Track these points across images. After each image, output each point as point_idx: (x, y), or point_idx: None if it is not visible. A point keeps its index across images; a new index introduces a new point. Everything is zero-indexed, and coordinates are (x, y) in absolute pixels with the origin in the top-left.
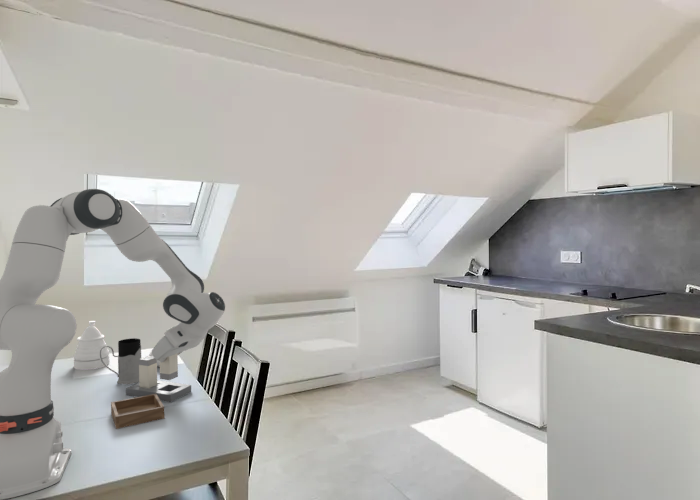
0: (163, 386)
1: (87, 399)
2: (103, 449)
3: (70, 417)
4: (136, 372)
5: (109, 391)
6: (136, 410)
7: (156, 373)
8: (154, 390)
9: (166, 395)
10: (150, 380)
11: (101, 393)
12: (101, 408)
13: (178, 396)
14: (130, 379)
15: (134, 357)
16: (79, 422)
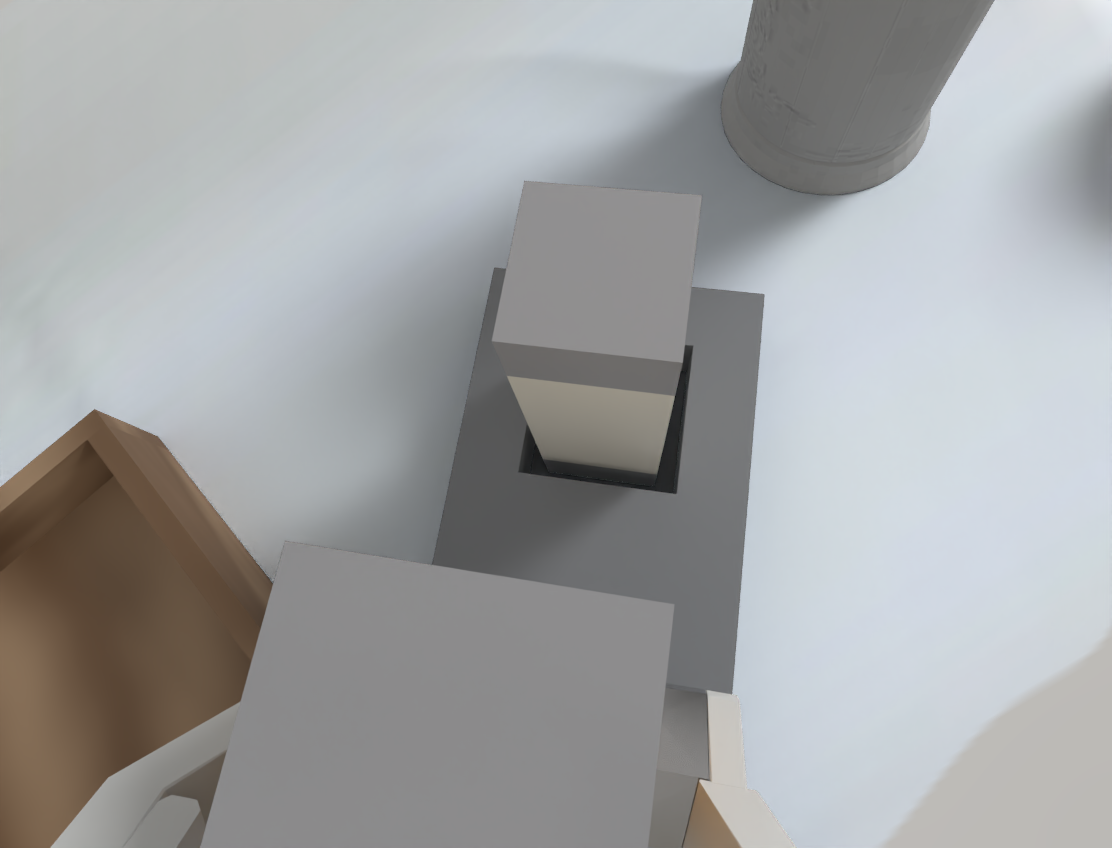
0: (599, 584)
1: (390, 109)
2: None
3: (95, 230)
4: (825, 118)
5: (558, 134)
6: (131, 639)
7: (654, 439)
8: (478, 562)
9: None
10: (560, 441)
11: (510, 112)
12: (243, 308)
13: None
14: (762, 134)
15: None
16: (15, 340)
